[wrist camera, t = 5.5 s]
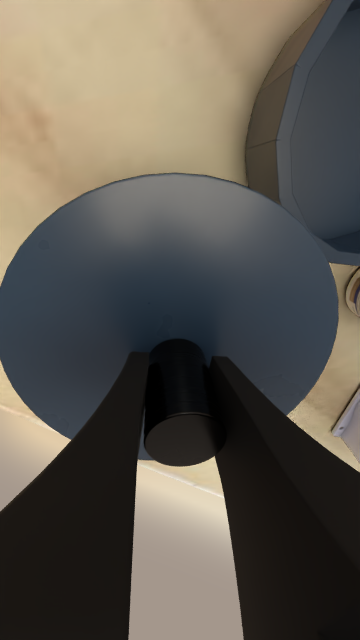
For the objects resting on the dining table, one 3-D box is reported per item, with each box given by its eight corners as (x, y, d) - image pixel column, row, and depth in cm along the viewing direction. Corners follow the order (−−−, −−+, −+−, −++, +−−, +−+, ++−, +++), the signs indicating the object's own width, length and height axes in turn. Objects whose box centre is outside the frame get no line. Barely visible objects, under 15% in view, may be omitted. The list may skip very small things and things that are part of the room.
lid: (269, 443, 15) (310, 538, 11) (34, 442, 13) (-17, 556, 9) (382, 204, 9) (570, 226, 5) (-32, 138, 7) (-282, 84, 3)
